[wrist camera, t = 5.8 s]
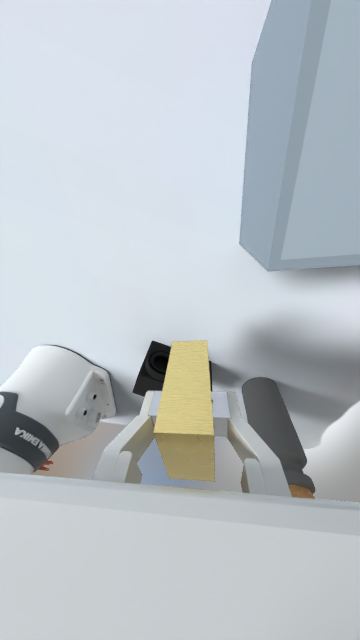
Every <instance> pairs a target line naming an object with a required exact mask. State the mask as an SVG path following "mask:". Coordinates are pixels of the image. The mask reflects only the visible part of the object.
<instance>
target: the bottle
mask: <svg viewBox="0 0 360 640" xmlns="http://www.w3.org/2000/svg"><path fill="white" fill-rule="evenodd" d="M242 394H243V399H244V404H245V409H246V414H247V419H248V424H249V425H250V426H251V427H252V428H253V429H254V431H255V432H256V433H257V434H258V435H259V436H260V438H261V439H262V440H263V441H264V442H265V443H266V445H267V446H268V447H269V448H270V449H271V450H272V451H273V453H274V454H275V455H276V456H277V457H278V458H279V460H280V462H281V465H282V468H283V471H284V474H285V477H286V480H287V483H288V486H289V489H290V492H291V495H292V497H299V498H311V499H315V498H314V496H313V493H314V492H315V487H314V484H313V482H312V480H311V478H310V477H309V476H307V475H305V474H303V471H302V469H303V468H304V467H305V465H306V463H307V459H306V456H305V453H304V451H303V448H302V446H301V443H300V441H299V438H298V436H297V433H296V431H295V428H294V426H293V423H292V421H291V419H290V416H289V414H288V411H287V409H286V406H285V404H284V402H283V399H282V397H281V394H280V392H279V390H278V387H277V385H276V384H275V382H273V381H272V380H270V379H267V378H254V379H250V380H248V381H247V382H245V383H244V384H243V386H242Z"/></svg>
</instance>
